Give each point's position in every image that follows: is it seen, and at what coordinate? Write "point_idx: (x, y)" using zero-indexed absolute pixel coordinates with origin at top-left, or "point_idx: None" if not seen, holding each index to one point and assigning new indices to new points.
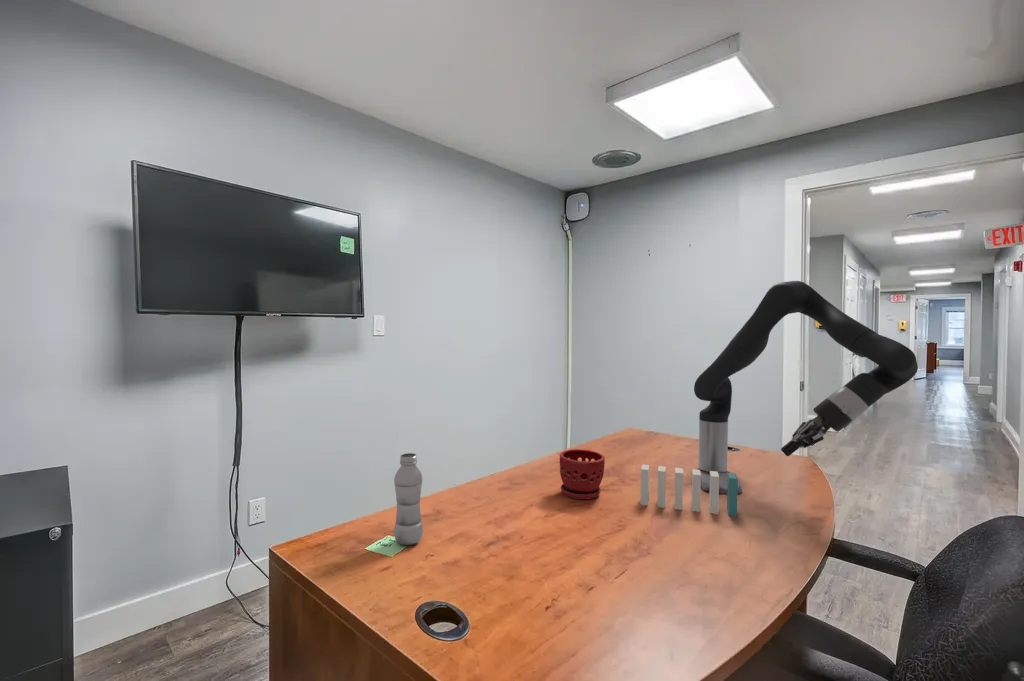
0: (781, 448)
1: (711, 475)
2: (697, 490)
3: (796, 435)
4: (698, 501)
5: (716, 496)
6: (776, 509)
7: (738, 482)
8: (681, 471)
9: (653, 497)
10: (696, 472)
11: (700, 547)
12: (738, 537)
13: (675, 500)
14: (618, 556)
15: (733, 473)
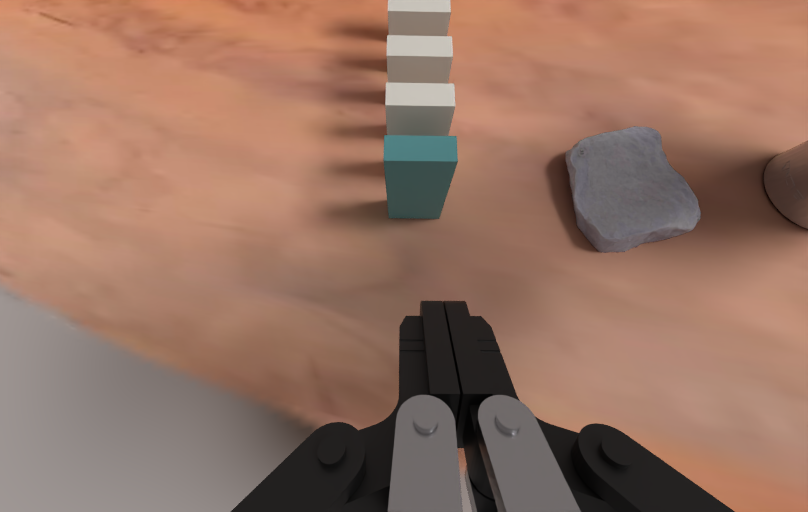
0: (456, 302)
1: (395, 84)
2: None
3: (520, 472)
4: None
5: None
6: None
7: (622, 232)
8: (409, 8)
9: (454, 51)
10: (414, 45)
11: (181, 131)
12: (252, 207)
13: None
14: (121, 11)
15: (452, 153)
